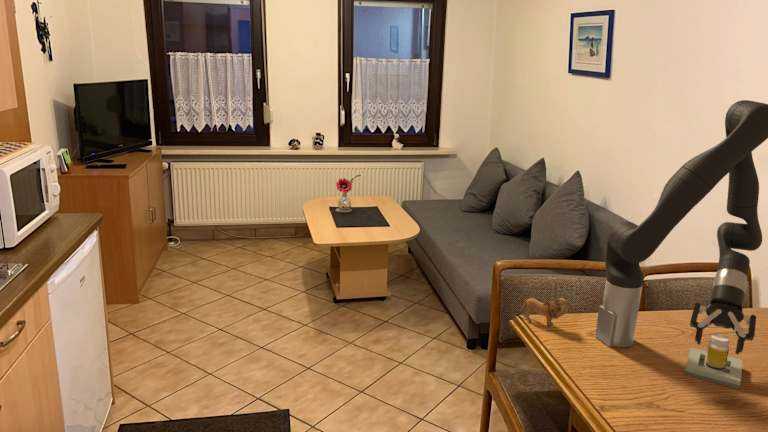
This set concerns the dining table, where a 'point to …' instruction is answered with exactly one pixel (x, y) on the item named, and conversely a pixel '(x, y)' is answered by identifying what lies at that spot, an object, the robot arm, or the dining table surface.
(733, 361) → the recess plate
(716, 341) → the supplement bottle
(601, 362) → the dining table surface
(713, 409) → the dining table surface
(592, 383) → the dining table surface
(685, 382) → the dining table surface
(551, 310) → the lion figurine
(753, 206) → the robot arm
